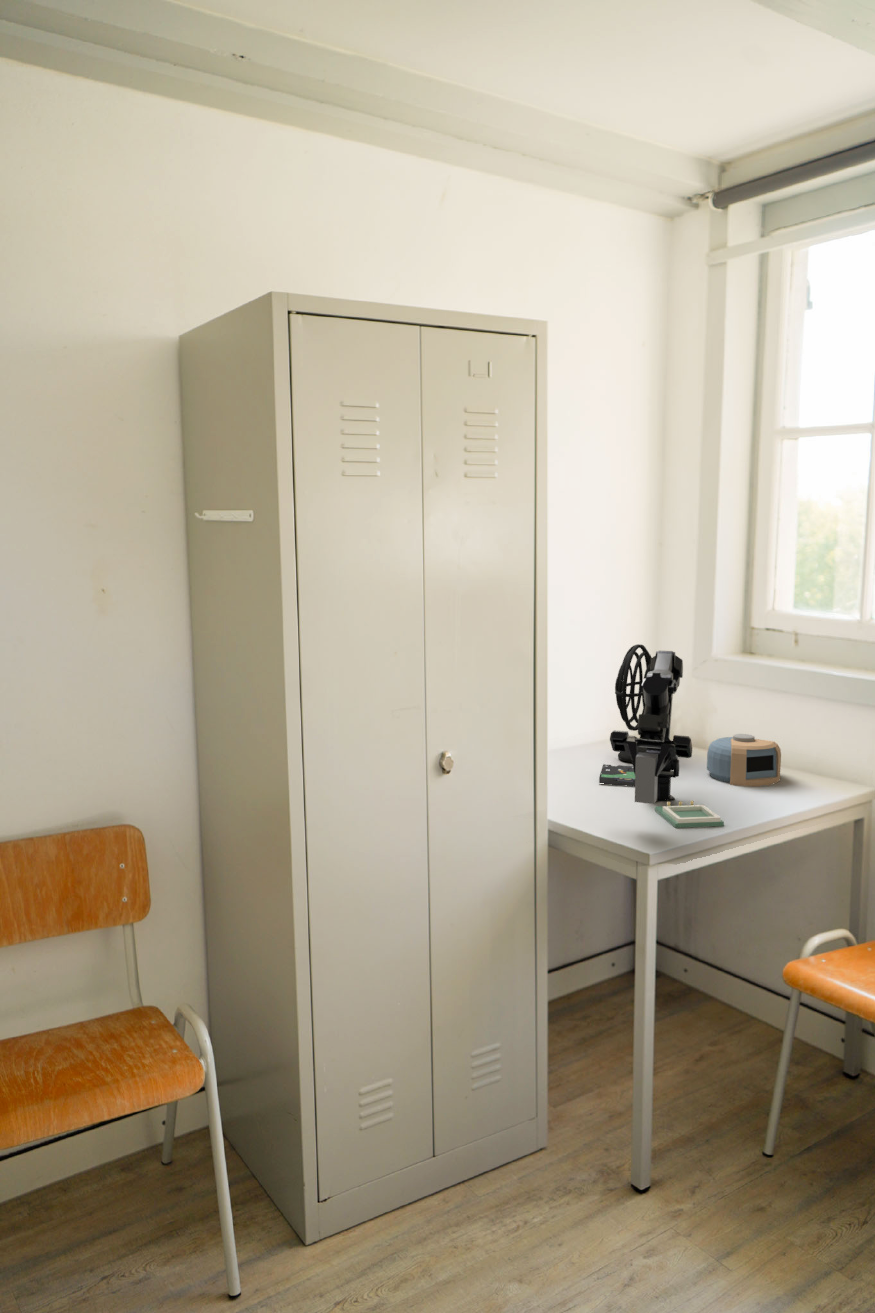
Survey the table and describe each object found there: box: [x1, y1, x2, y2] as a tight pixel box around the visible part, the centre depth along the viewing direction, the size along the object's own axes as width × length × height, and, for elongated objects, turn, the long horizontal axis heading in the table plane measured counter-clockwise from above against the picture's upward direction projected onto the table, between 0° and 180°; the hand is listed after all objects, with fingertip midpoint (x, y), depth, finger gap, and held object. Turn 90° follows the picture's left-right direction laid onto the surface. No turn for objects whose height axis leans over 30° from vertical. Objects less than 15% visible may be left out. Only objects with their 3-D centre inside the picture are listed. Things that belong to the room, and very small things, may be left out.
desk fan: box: [614, 644, 653, 763], centre depth 293 cm, size 27×18×35 cm, turn 152°
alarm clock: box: [706, 733, 782, 787], centre depth 271 cm, size 19×20×12 cm
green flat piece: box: [654, 800, 725, 829], centre depth 233 cm, size 14×12×2 cm
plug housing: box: [634, 752, 658, 805], centre depth 223 cm, size 4×4×11 cm
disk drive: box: [598, 763, 635, 788], centre depth 270 cm, size 10×3×15 cm
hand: (645, 774), depth 222 cm, fingers closed on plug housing, 4 cm apart
